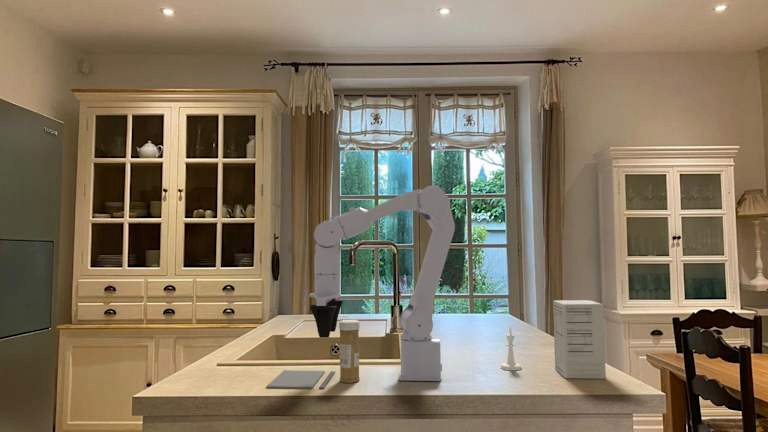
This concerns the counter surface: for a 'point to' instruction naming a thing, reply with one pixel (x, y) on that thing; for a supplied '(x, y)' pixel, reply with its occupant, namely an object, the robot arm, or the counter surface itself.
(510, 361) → the chess piece
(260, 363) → the counter surface
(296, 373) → the mat
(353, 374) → the sprinkles bottle
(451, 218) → the robot arm
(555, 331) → the supplement box
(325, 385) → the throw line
